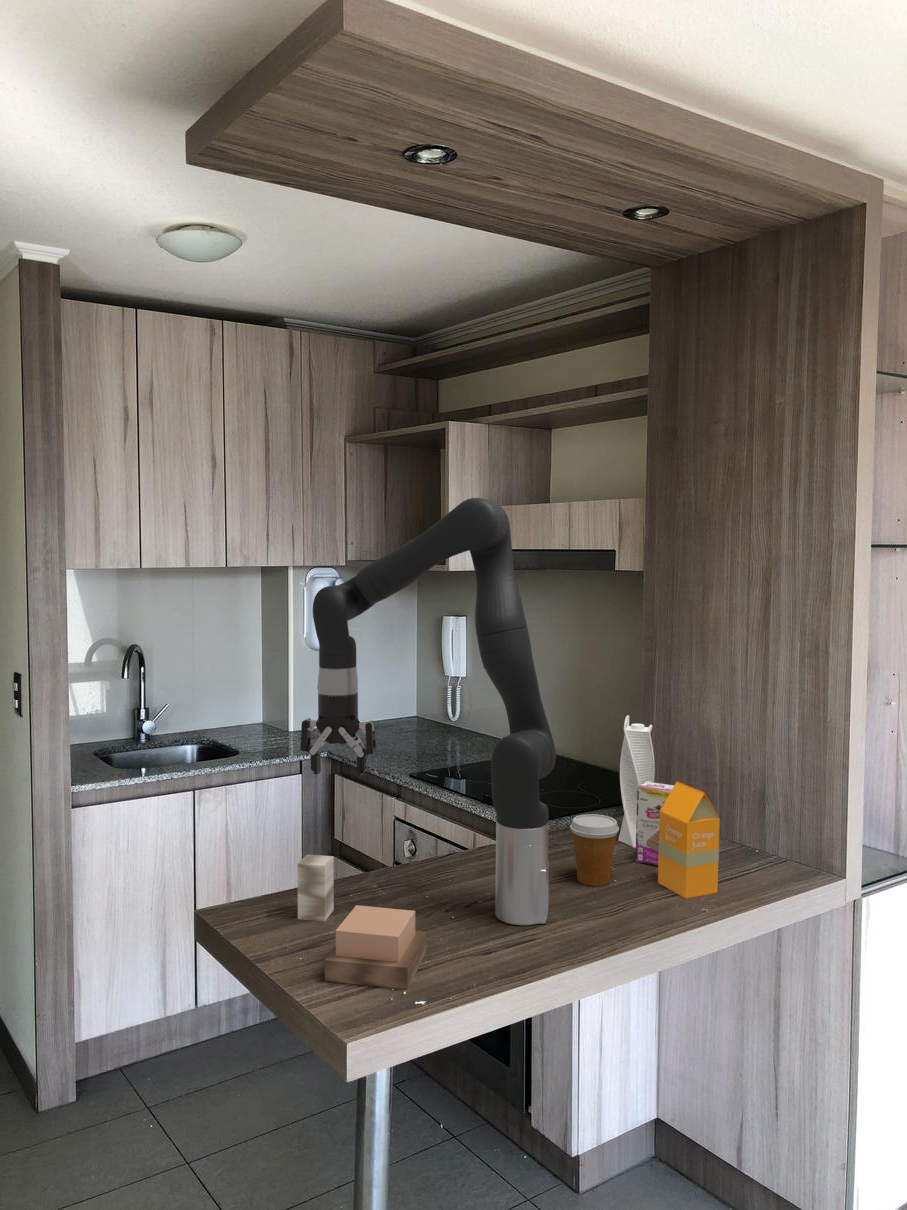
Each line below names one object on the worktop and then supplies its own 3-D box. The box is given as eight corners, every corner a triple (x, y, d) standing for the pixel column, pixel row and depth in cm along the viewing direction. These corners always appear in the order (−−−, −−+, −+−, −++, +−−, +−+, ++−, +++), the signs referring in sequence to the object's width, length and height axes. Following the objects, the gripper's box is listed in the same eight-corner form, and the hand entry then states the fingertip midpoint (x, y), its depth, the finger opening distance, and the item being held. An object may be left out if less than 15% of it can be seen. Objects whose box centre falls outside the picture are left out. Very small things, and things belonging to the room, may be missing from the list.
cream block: (333, 910, 171) (333, 856, 171) (324, 921, 166) (324, 866, 166) (307, 907, 172) (307, 854, 171) (297, 919, 167) (297, 863, 167)
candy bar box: (634, 862, 197) (636, 785, 196) (643, 855, 201) (644, 780, 200) (686, 873, 191) (688, 793, 190) (694, 866, 195) (696, 788, 194)
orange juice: (685, 898, 178) (687, 794, 176) (656, 882, 186) (659, 782, 184) (718, 892, 181) (721, 789, 179) (689, 876, 189) (692, 778, 187)
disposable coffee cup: (586, 868, 194) (587, 810, 193) (627, 879, 187) (628, 820, 186) (559, 880, 186) (560, 821, 185) (601, 893, 180) (602, 831, 179)
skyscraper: (610, 839, 212) (612, 715, 209) (637, 834, 215) (639, 712, 213) (632, 850, 205) (635, 722, 202) (659, 845, 208) (662, 719, 206)
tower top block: (415, 934, 153) (415, 910, 153) (398, 962, 144) (398, 936, 143) (356, 928, 156) (356, 905, 155) (335, 955, 146) (335, 930, 145)
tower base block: (426, 955, 155) (426, 931, 155) (407, 993, 142) (407, 967, 142) (349, 948, 157) (349, 925, 157) (324, 985, 145) (324, 960, 144)
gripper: (379, 688, 182) (379, 771, 183) (308, 685, 185) (309, 767, 186) (369, 695, 175) (369, 781, 176) (295, 692, 177) (296, 777, 178)
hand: (338, 774), depth 181 cm, fingers open, 8 cm apart
